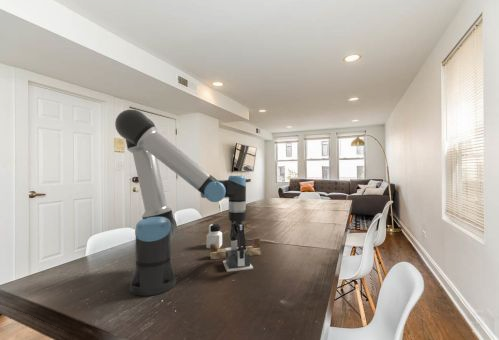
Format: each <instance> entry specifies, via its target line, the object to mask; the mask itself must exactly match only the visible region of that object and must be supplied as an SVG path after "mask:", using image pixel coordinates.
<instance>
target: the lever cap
mask: <svg viewBox="0 0 499 340" xmlns="http://www.w3.org/2000/svg"><path fill="white" fill-rule="evenodd" d="M225 261H226V263H227V265H228V267H229V269H231V268H240V267H249V266H250V264H251V256H250V254H249V253H248V251H247V250H245V266H238V251H237V250H227V251H226V258H225Z"/></svg>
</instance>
